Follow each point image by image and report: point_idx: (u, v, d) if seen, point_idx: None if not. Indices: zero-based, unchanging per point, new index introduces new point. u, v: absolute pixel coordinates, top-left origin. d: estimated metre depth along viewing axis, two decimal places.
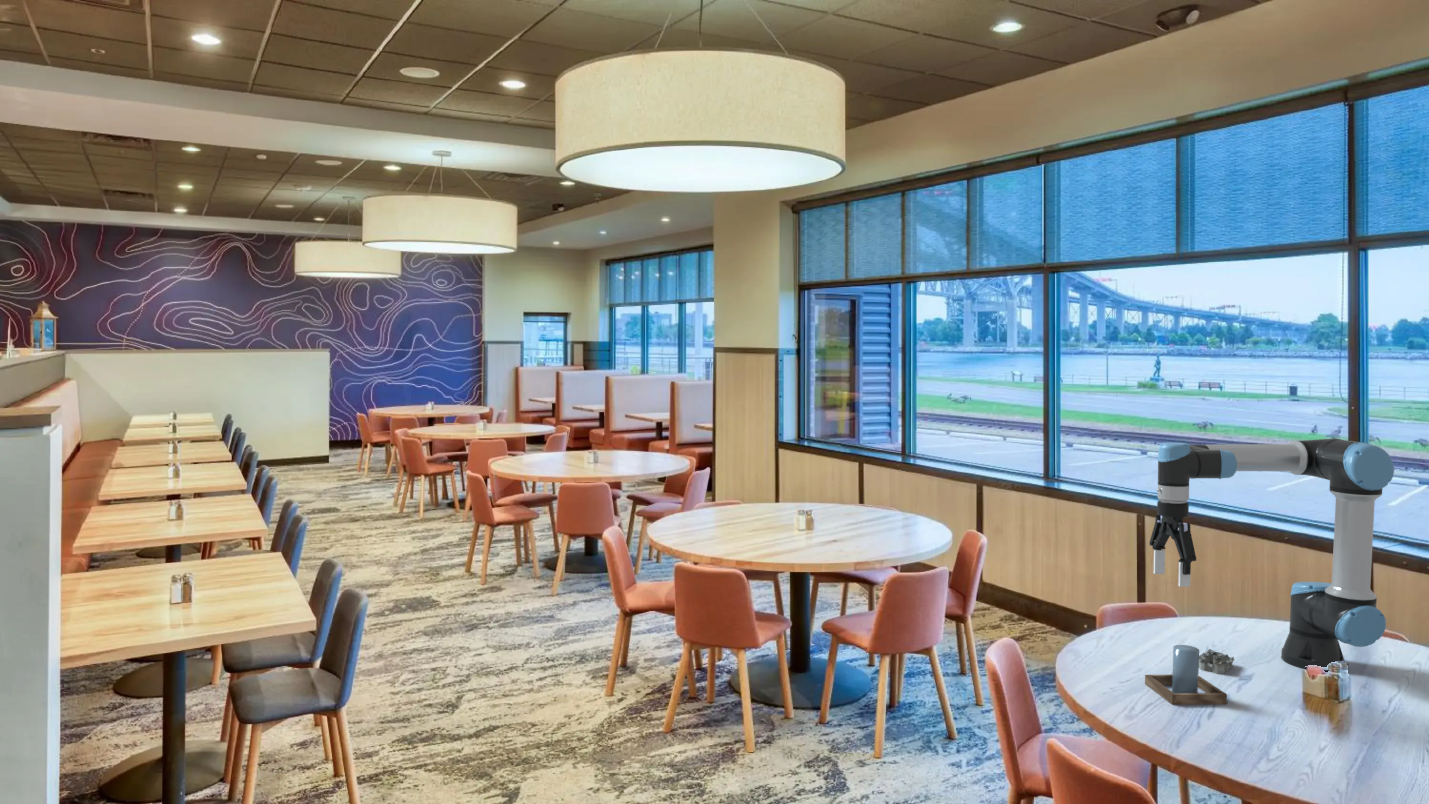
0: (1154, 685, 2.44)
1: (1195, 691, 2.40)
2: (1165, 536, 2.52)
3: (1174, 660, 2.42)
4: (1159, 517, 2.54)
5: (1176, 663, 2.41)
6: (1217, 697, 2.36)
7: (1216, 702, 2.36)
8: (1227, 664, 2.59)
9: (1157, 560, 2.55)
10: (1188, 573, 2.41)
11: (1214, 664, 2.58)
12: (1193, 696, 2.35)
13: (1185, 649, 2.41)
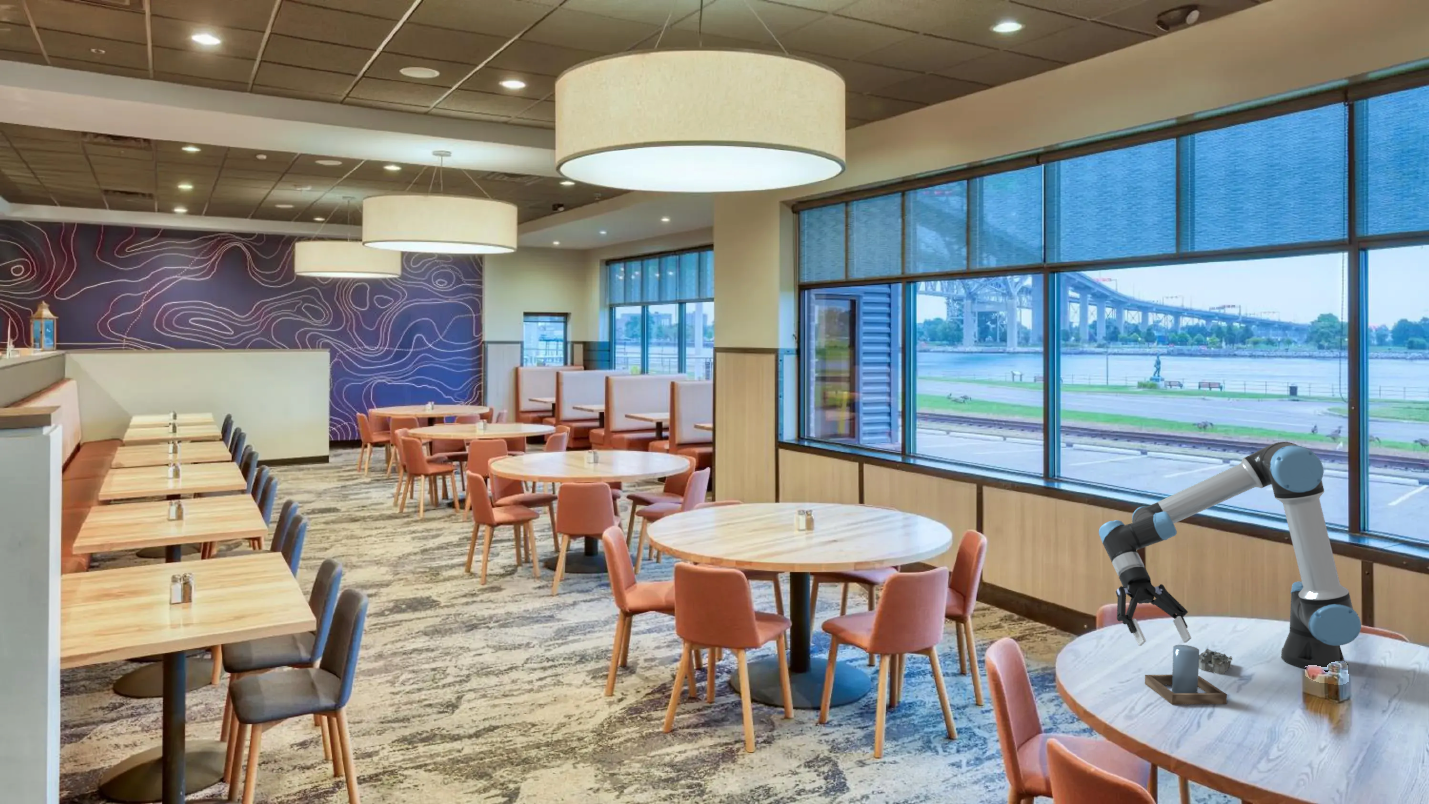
0: (1154, 685, 2.44)
1: (1195, 691, 2.40)
2: (1159, 604, 2.56)
3: (1174, 660, 2.42)
4: None
5: (1176, 663, 2.41)
6: (1217, 697, 2.36)
7: (1216, 702, 2.36)
8: (1227, 664, 2.60)
9: (1178, 628, 2.52)
10: (1132, 630, 2.49)
11: (1215, 664, 2.57)
12: (1193, 696, 2.35)
13: (1185, 649, 2.41)
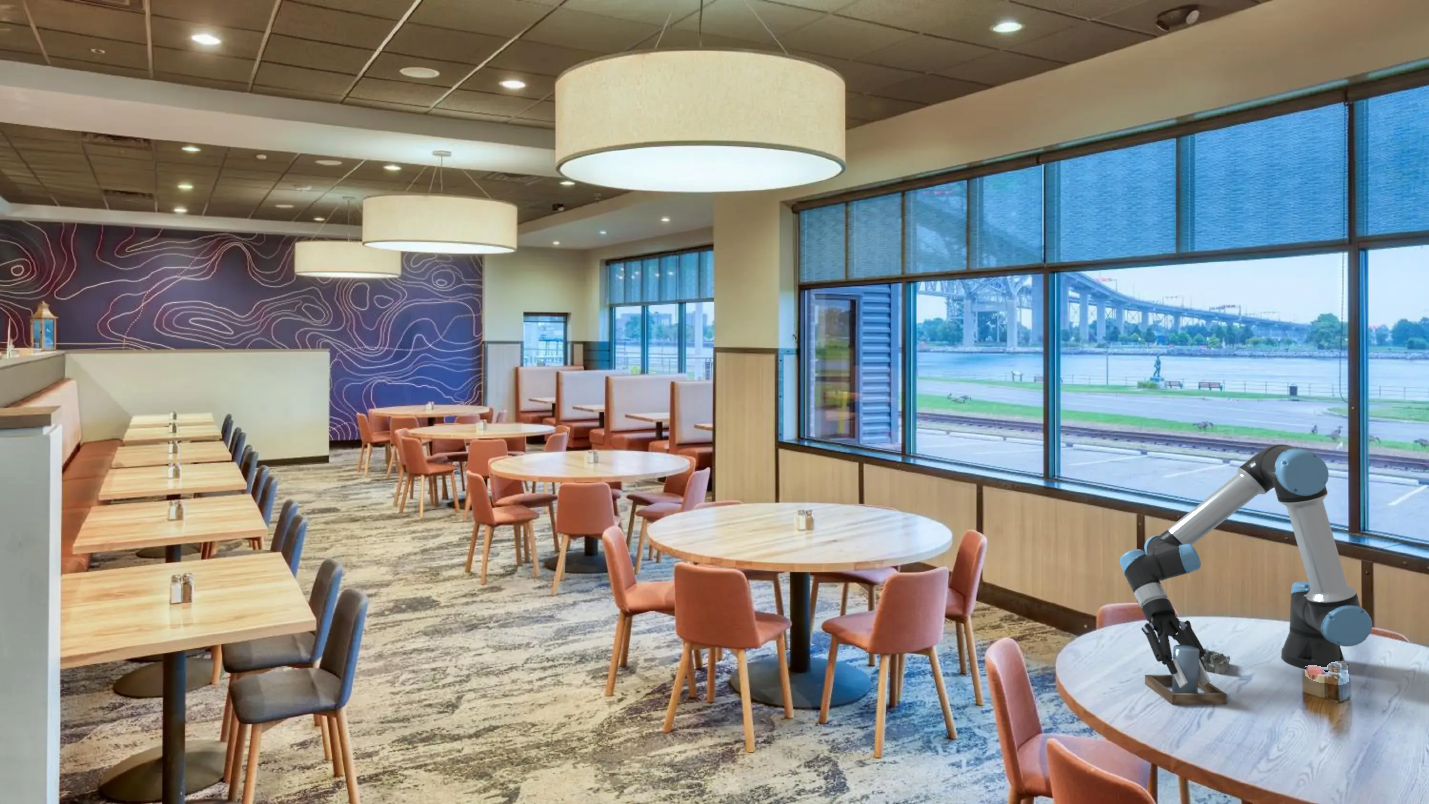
0: (1154, 685, 2.44)
1: (1195, 691, 2.40)
2: (1180, 640, 2.47)
3: None
4: None
5: None
6: (1217, 697, 2.36)
7: (1216, 702, 2.36)
8: (1226, 663, 2.60)
9: None
10: (1172, 671, 2.40)
11: (1216, 664, 2.57)
12: (1193, 696, 2.35)
13: (1185, 649, 2.41)
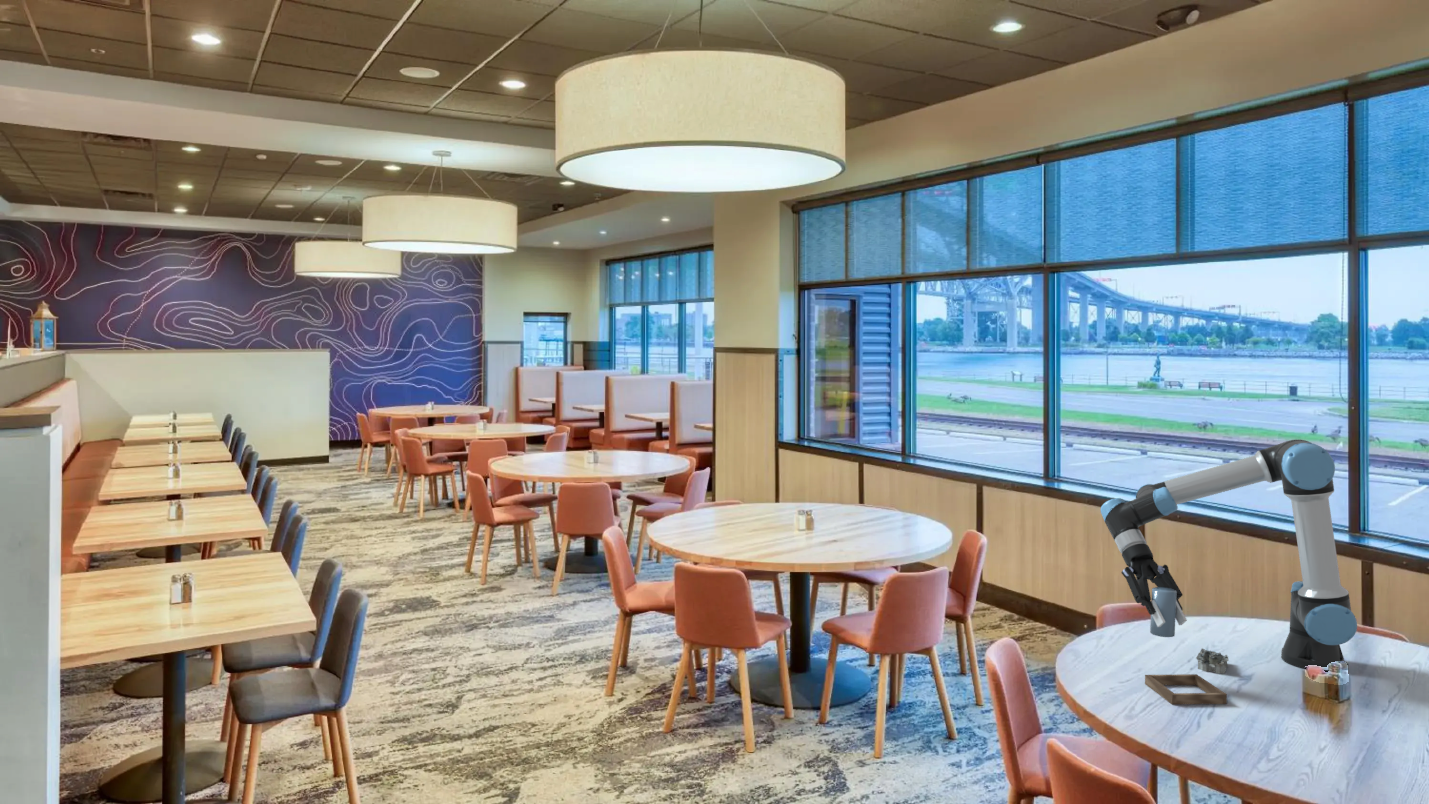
0: (1154, 685, 2.44)
1: (1172, 630, 2.50)
2: (1158, 582, 2.57)
3: None
4: None
5: None
6: (1217, 697, 2.36)
7: (1216, 702, 2.36)
8: (1225, 663, 2.60)
9: None
10: (1151, 611, 2.50)
11: (1216, 664, 2.57)
12: (1193, 696, 2.35)
13: (1163, 591, 2.51)
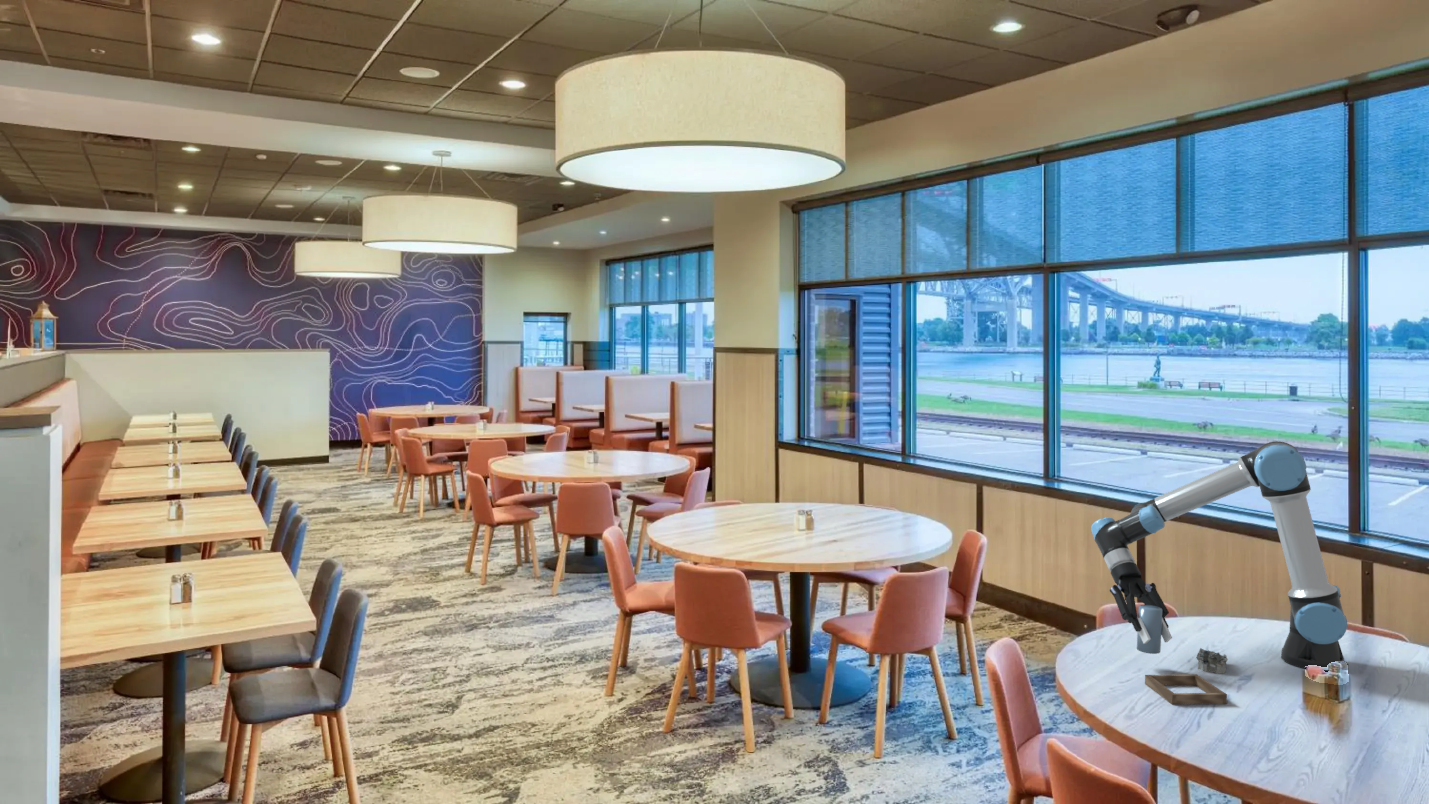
0: (1154, 685, 2.44)
1: (1158, 647, 2.58)
2: (1145, 600, 2.65)
3: None
4: None
5: None
6: (1217, 697, 2.36)
7: (1216, 702, 2.36)
8: (1225, 663, 2.60)
9: None
10: (1137, 629, 2.58)
11: (1217, 664, 2.57)
12: (1193, 696, 2.35)
13: (1149, 608, 2.59)
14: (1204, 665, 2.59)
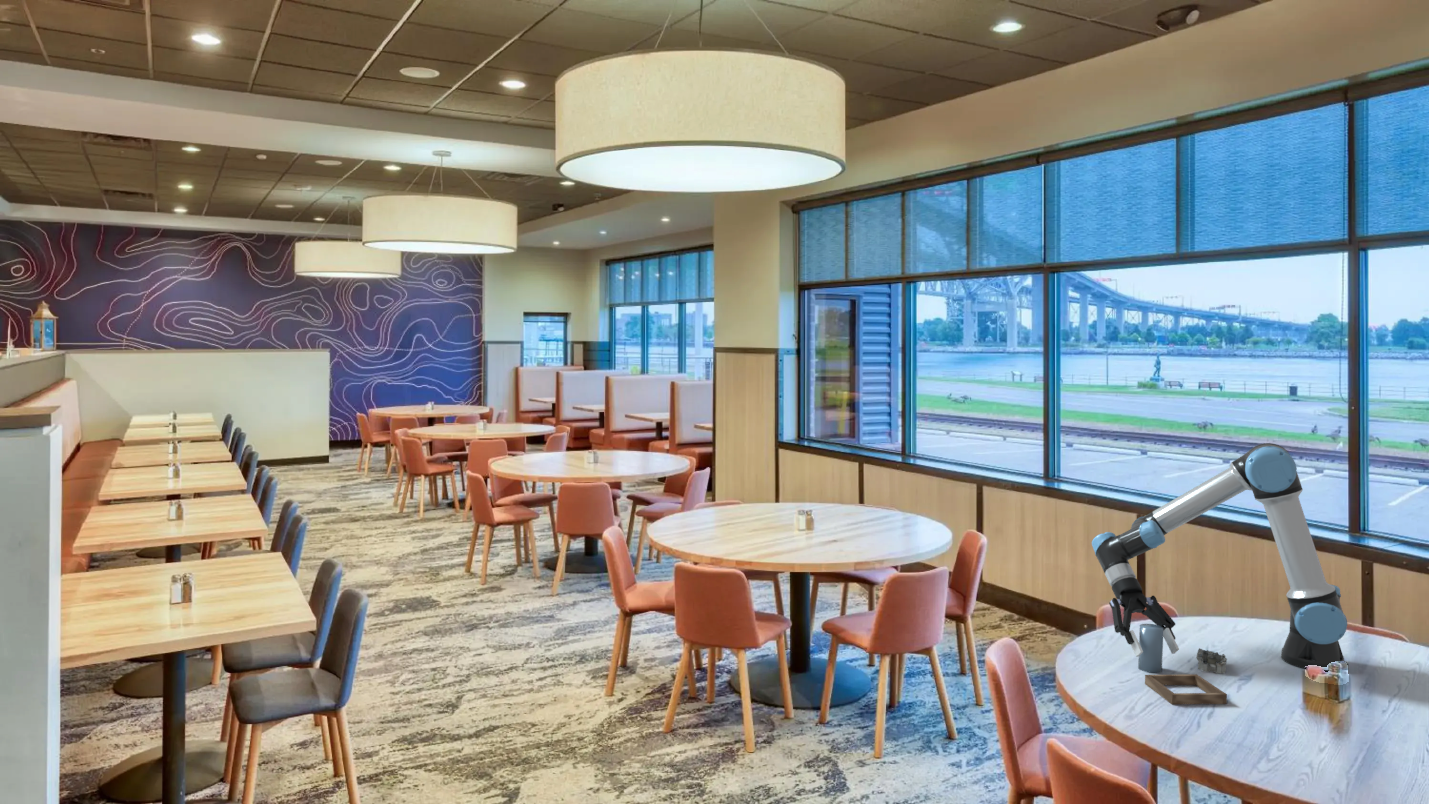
0: (1154, 685, 2.44)
1: (1159, 666, 2.58)
2: (1149, 614, 2.65)
3: (1140, 638, 2.60)
4: None
5: (1142, 640, 2.59)
6: (1217, 697, 2.36)
7: (1216, 702, 2.36)
8: (1224, 663, 2.61)
9: (1167, 640, 2.61)
10: (1129, 641, 2.58)
11: (1217, 664, 2.57)
12: (1193, 696, 2.35)
13: (1150, 627, 2.59)
14: (1204, 665, 2.59)
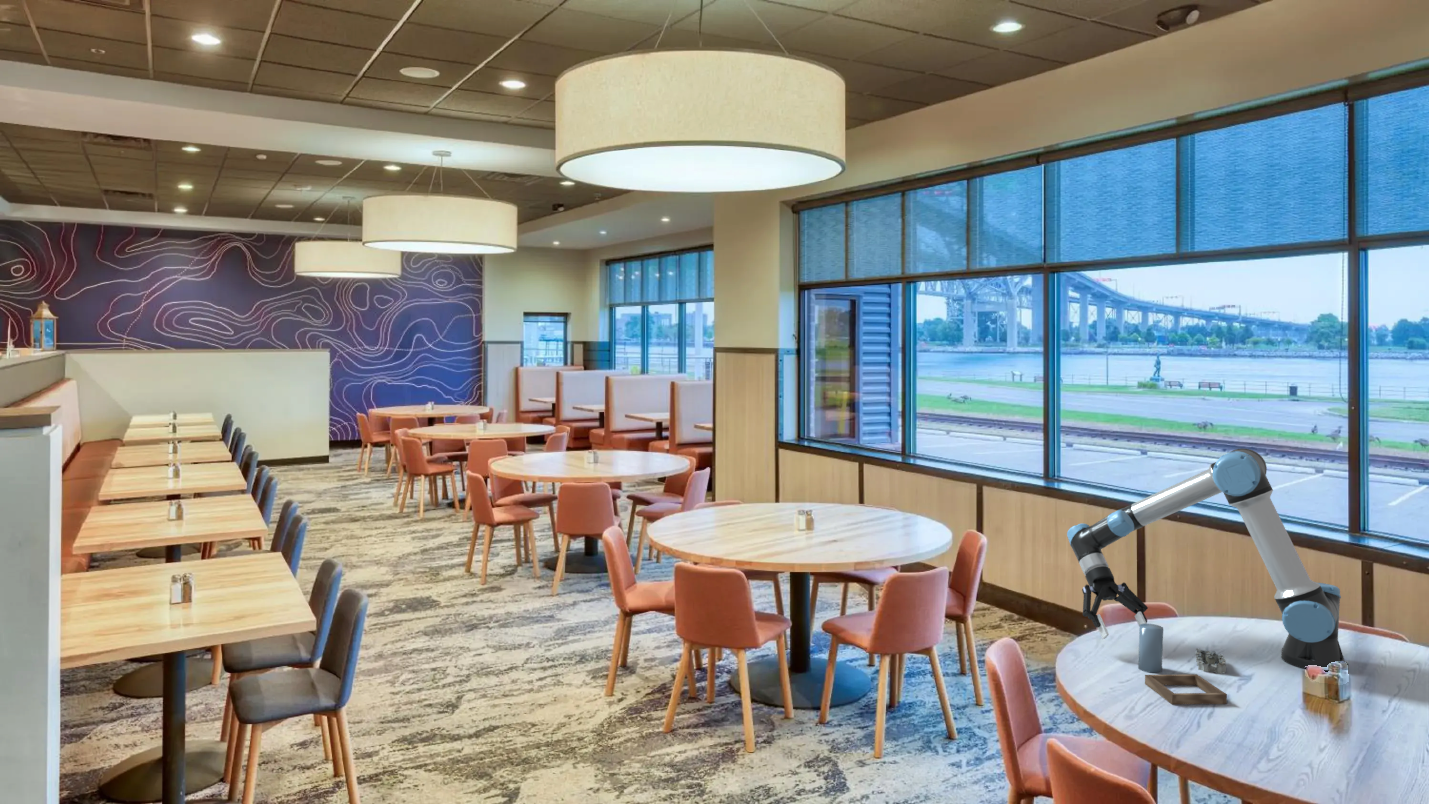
0: (1154, 685, 2.44)
1: (1159, 666, 2.58)
2: (1122, 600, 2.78)
3: (1140, 638, 2.60)
4: None
5: (1142, 640, 2.59)
6: (1217, 697, 2.36)
7: (1216, 702, 2.36)
8: (1224, 662, 2.61)
9: (1139, 623, 2.75)
10: (1096, 625, 2.71)
11: (1218, 664, 2.57)
12: (1193, 696, 2.35)
13: (1150, 627, 2.59)
14: (1205, 666, 2.59)
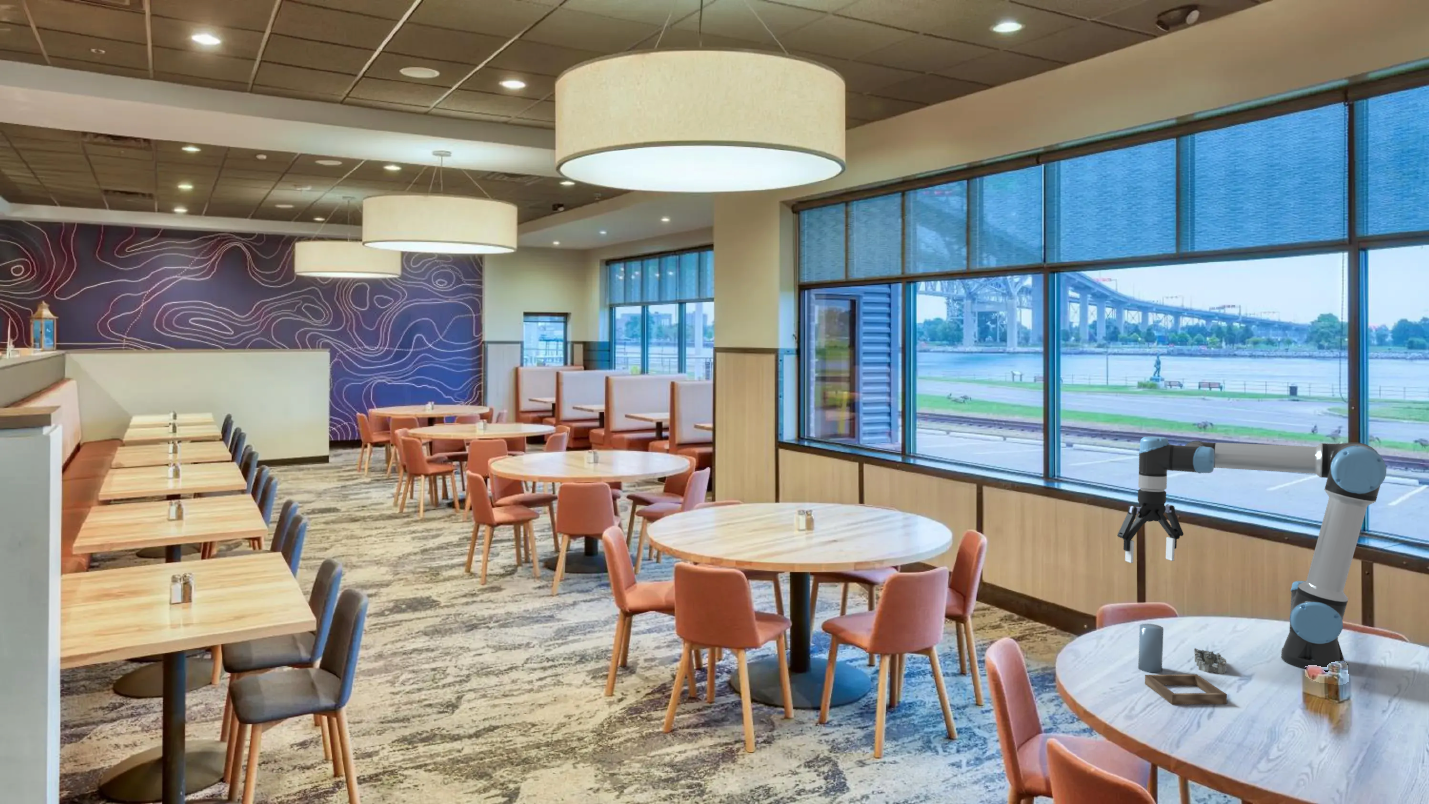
0: (1154, 685, 2.44)
1: (1159, 666, 2.58)
2: (1162, 523, 2.75)
3: (1140, 638, 2.60)
4: None
5: (1142, 640, 2.59)
6: (1217, 697, 2.36)
7: (1216, 702, 2.36)
8: None
9: (1167, 546, 2.77)
10: (1125, 549, 2.73)
11: (1219, 664, 2.57)
12: (1193, 696, 2.35)
13: (1150, 627, 2.59)
14: (1206, 666, 2.58)
